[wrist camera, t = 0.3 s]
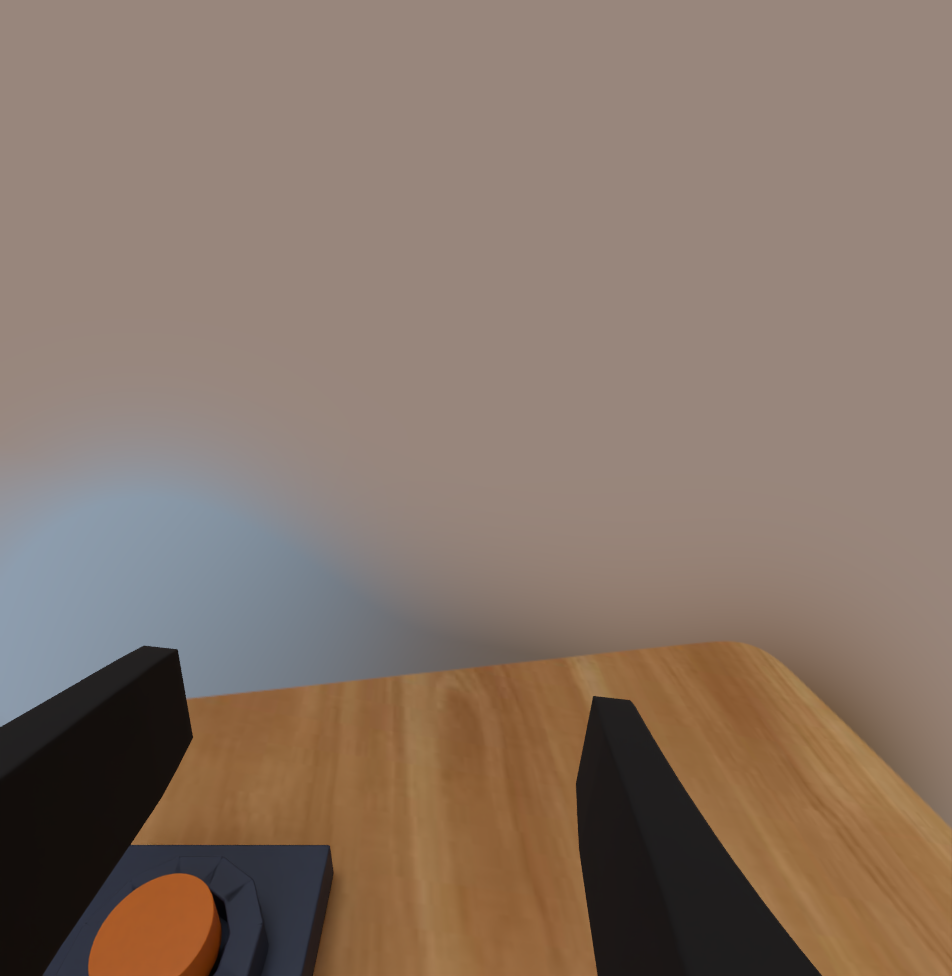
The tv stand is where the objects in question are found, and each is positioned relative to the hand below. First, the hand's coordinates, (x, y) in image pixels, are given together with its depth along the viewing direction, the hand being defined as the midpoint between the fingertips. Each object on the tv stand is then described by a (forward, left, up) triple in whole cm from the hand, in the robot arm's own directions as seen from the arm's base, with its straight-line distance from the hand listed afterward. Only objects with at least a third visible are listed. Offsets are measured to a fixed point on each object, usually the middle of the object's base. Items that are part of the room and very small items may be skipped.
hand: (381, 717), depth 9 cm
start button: (+4, +9, -17) cm, 20 cm away
